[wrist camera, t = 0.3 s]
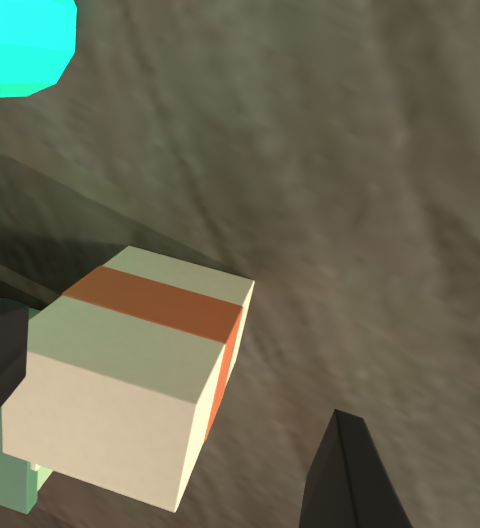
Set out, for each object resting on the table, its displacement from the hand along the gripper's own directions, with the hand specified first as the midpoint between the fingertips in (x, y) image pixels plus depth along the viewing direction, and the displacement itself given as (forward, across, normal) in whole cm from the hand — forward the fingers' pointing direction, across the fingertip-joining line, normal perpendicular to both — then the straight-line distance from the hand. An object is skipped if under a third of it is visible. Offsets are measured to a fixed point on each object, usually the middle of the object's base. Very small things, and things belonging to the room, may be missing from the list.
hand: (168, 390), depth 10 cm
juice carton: (+10, +2, +4) cm, 11 cm away
